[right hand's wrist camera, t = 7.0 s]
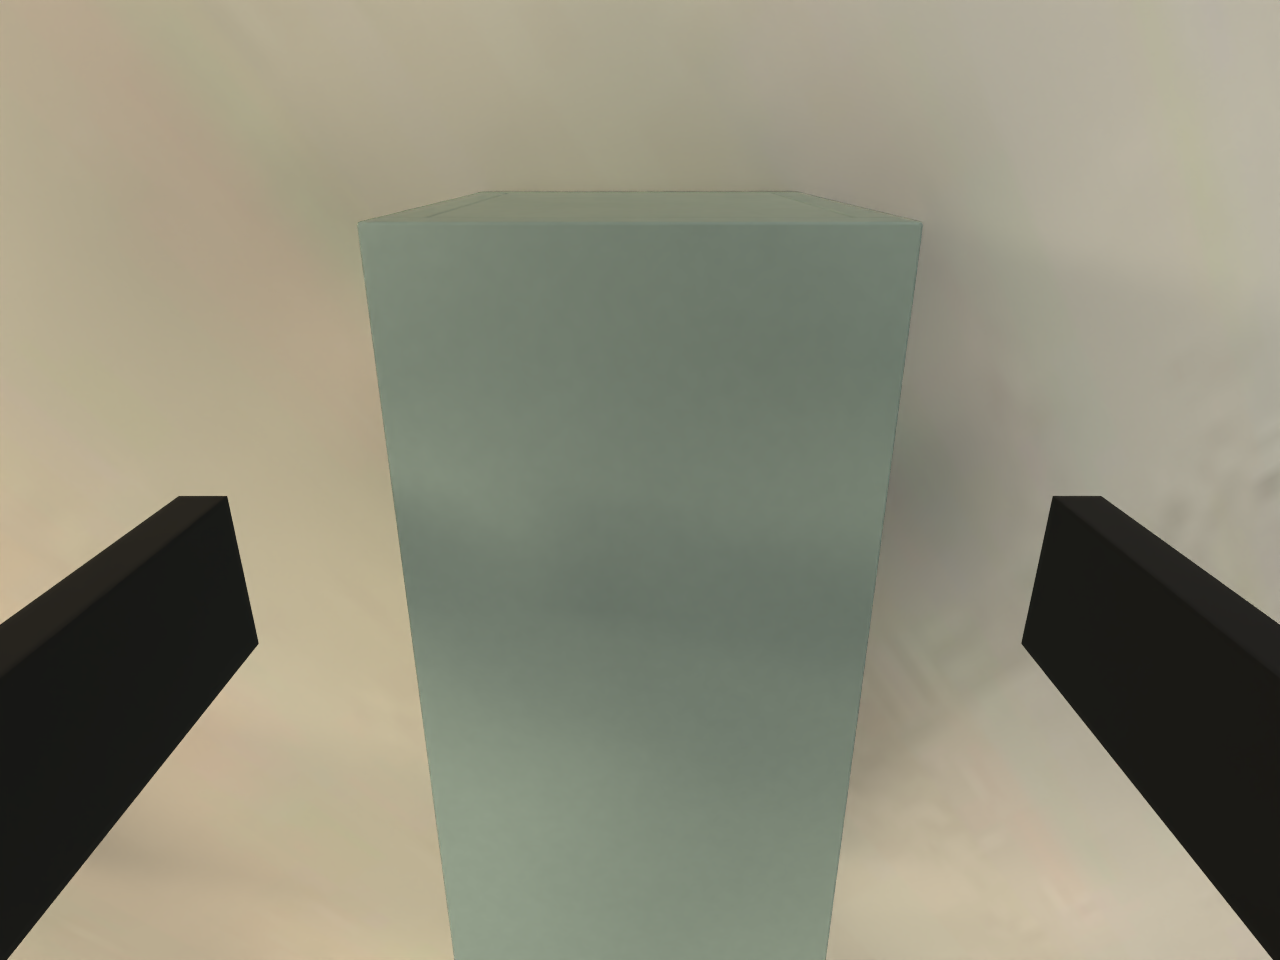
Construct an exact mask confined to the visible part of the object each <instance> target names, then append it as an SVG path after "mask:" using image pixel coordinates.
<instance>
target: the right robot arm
mask: <svg viewBox="0 0 1280 960" xmlns="http://www.w3.org/2000/svg"><path fill="white" fill-rule="evenodd" d="M258 644H259V643H258V638H257V634H256V629H255V624H254V620H253V615H252V610H251V606H250V601H249V596H248V592H247V587H246V582H245V578H244V573H243V568H242V564H241V559H240V554H239V550H238V545H237V540H236V536H235V531H234V526H233V521H232V517H231V512H230V507H229V503H228V498H227V496H178V497H177V498H176V499H174V500H173V501H171V502H170V503H169V504H167V505H166V506H165V507H163V508H162V509H160V510H159V511H158V512H156V513H155V514H153V515H152V516H151V517H149V518H148V519H146V520H145V521H144V522H142V523H141V524H139V525H138V526H137V527H135V528H134V529H133V530H131V531H130V532H128V533H127V534H126V535H124V536H123V537H121V538H120V539H119V540H117V541H116V542H114V543H113V544H112V545H110V546H109V547H108V548H106V549H105V550H103V551H102V552H101V553H99V554H98V555H96V556H95V557H94V558H92V559H91V560H89V561H88V562H87V563H85V564H84V565H83V566H81V567H80V568H78V569H77V570H76V571H74V572H73V573H71V574H70V575H69V576H67V577H66V578H64V579H63V580H62V581H60V582H59V583H58V584H56V585H55V586H53V587H52V588H51V589H49V590H48V591H46V592H45V593H44V594H42V595H41V596H39V597H38V598H37V599H35V600H34V601H32V602H31V603H30V604H28V605H27V606H26V607H24V608H23V609H21V610H20V611H19V612H17V613H16V614H14V615H13V616H12V617H10V618H9V619H7V620H6V621H5V622H3V623H2V624H1V625H0V960H7V959H8V958H9V957H10V955H11V954H12V953H13V952H14V950H15V949H16V948H17V947H18V945H19V944H20V943H21V941H22V940H23V939H24V938H25V936H26V935H27V934H28V933H29V931H30V930H31V929H32V928H33V926H34V925H35V924H36V923H37V921H38V920H39V919H40V918H41V916H42V915H43V914H44V913H45V911H46V910H47V909H48V908H49V906H50V905H51V904H52V903H53V901H54V900H55V899H56V898H57V896H58V895H59V894H60V892H61V891H62V890H63V889H64V887H65V886H66V885H67V884H68V882H69V881H70V880H71V879H72V877H73V876H74V875H75V874H76V872H77V871H78V870H79V869H80V867H81V866H82V865H83V864H84V862H85V861H86V860H87V859H88V857H89V856H90V855H91V854H92V852H93V851H94V850H95V849H96V847H97V846H98V845H99V843H100V842H101V841H102V840H103V838H104V837H105V836H106V835H107V833H108V832H109V831H110V830H111V828H112V827H113V826H114V825H115V823H116V822H117V821H118V820H119V818H120V817H121V816H122V815H123V813H124V812H125V811H126V810H127V808H128V807H129V806H130V805H131V803H132V802H133V801H134V800H135V798H136V797H137V796H138V794H139V793H140V792H141V791H142V789H143V788H144V787H145V786H146V784H147V783H148V782H149V781H150V779H151V778H152V777H153V776H154V774H155V773H156V772H157V771H158V769H159V768H160V767H161V766H162V764H163V763H164V762H165V761H166V759H167V758H168V757H169V756H170V754H171V753H172V752H173V750H174V749H175V748H176V747H177V745H178V744H179V743H180V742H181V740H182V739H183V738H184V737H185V735H186V734H187V733H188V732H189V730H190V729H191V728H192V727H193V725H194V724H195V723H196V722H197V720H198V719H199V718H200V717H201V715H202V714H203V713H204V712H205V710H206V709H207V708H208V707H209V705H210V704H211V703H212V701H213V700H214V699H215V698H216V696H217V695H218V694H219V693H220V691H221V690H222V689H223V688H224V686H225V685H226V684H227V683H228V681H229V680H230V679H231V678H232V676H233V675H234V674H235V673H236V671H237V670H238V669H239V668H240V666H241V665H242V664H243V663H244V661H245V660H246V659H247V658H248V656H249V655H250V654H251V652H252V651H253V650H254V649H255V647H256V646H257V645H258ZM1021 644H1022V645H1023V646H1024V647H1025V649H1026V650H1027V651H1028V652H1029V654H1030V655H1031V656H1032V658H1033V659H1034V660H1035V661H1036V663H1037V664H1038V665H1039V666H1040V668H1041V669H1042V670H1043V671H1044V673H1045V674H1046V675H1047V676H1048V678H1049V679H1050V680H1051V681H1052V683H1053V684H1054V685H1055V686H1056V688H1057V689H1058V690H1059V691H1060V693H1061V694H1062V695H1063V696H1064V698H1065V699H1066V700H1067V701H1068V703H1069V704H1070V705H1071V707H1072V708H1073V709H1074V710H1075V712H1076V713H1077V714H1078V715H1079V717H1080V718H1081V719H1082V720H1083V722H1084V723H1085V724H1086V725H1087V727H1088V728H1089V729H1090V730H1091V732H1092V733H1093V734H1094V735H1095V737H1096V738H1097V739H1098V740H1099V742H1100V743H1101V744H1102V745H1103V747H1104V748H1105V749H1106V751H1107V752H1108V753H1109V754H1110V756H1111V757H1112V758H1113V759H1114V761H1115V762H1116V763H1117V764H1118V766H1119V767H1120V768H1121V769H1122V771H1123V772H1124V773H1125V774H1126V776H1127V777H1128V778H1129V779H1130V781H1131V782H1132V783H1133V784H1134V786H1135V787H1136V788H1137V789H1138V791H1139V792H1140V793H1141V794H1142V796H1143V797H1144V798H1145V800H1146V801H1147V802H1148V803H1149V805H1150V806H1151V807H1152V808H1153V810H1154V811H1155V812H1156V813H1157V815H1158V816H1159V817H1160V818H1161V820H1162V821H1163V822H1164V823H1165V825H1166V826H1167V827H1168V828H1169V830H1170V831H1171V832H1172V833H1173V835H1174V836H1175V837H1176V838H1177V840H1178V841H1179V842H1180V843H1181V845H1182V846H1183V847H1184V849H1185V850H1186V851H1187V852H1188V854H1189V855H1190V856H1191V857H1192V859H1193V860H1194V861H1195V862H1196V864H1197V865H1198V866H1199V867H1200V869H1201V870H1202V871H1203V872H1204V874H1205V875H1206V876H1207V877H1208V879H1209V880H1210V881H1211V882H1212V884H1213V885H1214V886H1215V887H1216V889H1217V890H1218V891H1219V892H1220V894H1221V895H1222V896H1223V898H1224V899H1225V900H1226V901H1227V903H1228V904H1229V905H1230V906H1231V908H1232V909H1233V910H1234V911H1235V913H1236V914H1237V915H1238V916H1239V918H1240V919H1241V920H1242V921H1243V923H1244V924H1245V925H1246V926H1247V928H1248V929H1249V930H1250V931H1251V933H1252V934H1253V935H1254V936H1255V938H1256V939H1257V940H1258V941H1259V943H1260V944H1261V945H1262V947H1263V948H1264V949H1265V950H1266V952H1267V953H1268V954H1269V955H1270V957H1271V958H1272V959H1273V960H1280V625H1279V624H1278V623H1277V622H1275V621H1274V620H1273V619H1271V618H1270V617H1268V616H1267V615H1266V614H1264V613H1263V612H1261V611H1260V610H1259V609H1257V608H1256V607H1254V606H1253V605H1252V604H1250V603H1249V602H1248V601H1246V600H1245V599H1243V598H1242V597H1241V596H1239V595H1238V594H1236V593H1235V592H1234V591H1232V590H1231V589H1229V588H1228V587H1227V586H1225V585H1224V584H1222V583H1221V582H1220V581H1218V580H1217V579H1216V578H1214V577H1213V576H1211V575H1210V574H1209V573H1207V572H1206V571H1204V570H1203V569H1202V568H1200V567H1199V566H1197V565H1196V564H1195V563H1193V562H1192V561H1191V560H1189V559H1188V558H1186V557H1185V556H1184V555H1182V554H1181V553H1179V552H1178V551H1177V550H1175V549H1174V548H1172V547H1171V546H1170V545H1168V544H1167V543H1166V542H1164V541H1163V540H1161V539H1160V538H1159V537H1157V536H1156V535H1154V534H1153V533H1152V532H1150V531H1149V530H1147V529H1146V528H1145V527H1143V526H1142V525H1141V524H1139V523H1138V522H1136V521H1135V520H1134V519H1132V518H1131V517H1129V516H1128V515H1127V514H1125V513H1124V512H1122V511H1121V510H1120V509H1118V508H1117V507H1115V506H1114V505H1113V504H1111V503H1110V502H1109V501H1107V500H1106V499H1104V498H1103V497H1102V496H1053V498H1052V503H1051V507H1050V512H1049V517H1048V521H1047V526H1046V531H1045V535H1044V540H1043V545H1042V550H1041V554H1040V559H1039V564H1038V568H1037V573H1036V578H1035V582H1034V587H1033V592H1032V596H1031V601H1030V606H1029V610H1028V615H1027V620H1026V624H1025V629H1024V634H1023V638H1022V643H1021Z"/></svg>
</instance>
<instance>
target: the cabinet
mask: <svg viewBox="0 0 1280 960" xmlns="http://www.w3.org/2000/svg"><path fill="white" fill-rule="evenodd" d="M357 227H358V235H359V242H360V250H361V257H362V265H363V272H364V280H365V288H366V295H367V303H368V310H369V318H370V325H371V333H372V340H373V348H374V356H375V363H376V371H377V378H378V386H379V393H380V401H381V408H382V416H383V424H384V431H385V439H386V446H387V454H388V461H389V469H390V476H391V484H392V492H393V499H394V507H395V514H396V522H397V529H398V537H399V544H400V552H401V560H402V567H403V575H404V582H405V590H406V597H407V605H408V612H409V620H410V628H411V635H412V643H413V650H414V658H415V665H416V673H417V680H418V688H419V696H420V703H421V711H422V718H423V726H424V733H425V741H426V748H427V756H428V764H429V771H430V779H431V786H432V794H433V801H434V809H435V816H436V824H437V832H438V839H439V847H440V854H441V862H442V869H443V877H444V884H445V892H446V900H447V907H448V915H449V922H450V930H451V937H452V945H453V952H454V960H826V953H827V945H828V938H829V930H830V923H831V915H832V908H833V900H834V892H835V885H836V877H837V870H838V862H839V855H840V847H841V840H842V832H843V824H844V817H845V809H846V802H847V794H848V787H849V779H850V772H851V764H852V757H853V749H854V741H855V734H856V726H857V719H858V711H859V704H860V696H861V689H862V681H863V674H864V666H865V658H866V651H867V643H868V636H869V628H870V621H871V613H872V606H873V598H874V590H875V583H876V575H877V568H878V560H879V553H880V545H881V538H882V530H883V523H884V515H885V507H886V500H887V492H888V485H889V477H890V470H891V462H892V455H893V447H894V439H895V432H896V424H897V417H898V409H899V402H900V394H901V387H902V379H903V372H904V364H905V356H906V349H907V341H908V334H909V326H910V319H911V311H912V304H913V296H914V288H915V281H916V273H917V266H918V258H919V251H920V243H921V236H922V228H923V224H922V222H920V221H916V220H912V219H908V218H902V217H899V216H895V215H891V214H886V213H882V212H878V211H874V210H870V209H866V208H862V207H857V206H853V205H849V204H845V203H841V202H837V201H833V200H829V199H824V198H820V197H816V196H812V195H808V194H804V193H800V192H479V193H476V194H472V195H468V196H463V197H459V198H455V199H451V200H447V201H443V202H439V203H435V204H431V205H426V206H422V207H418V208H414V209H410V210H406V211H402V212H398V213H394V214H389V215H385V216H381V217H378V218H372V219H368V220H364V221H360V222H358V225H357Z"/></svg>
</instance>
